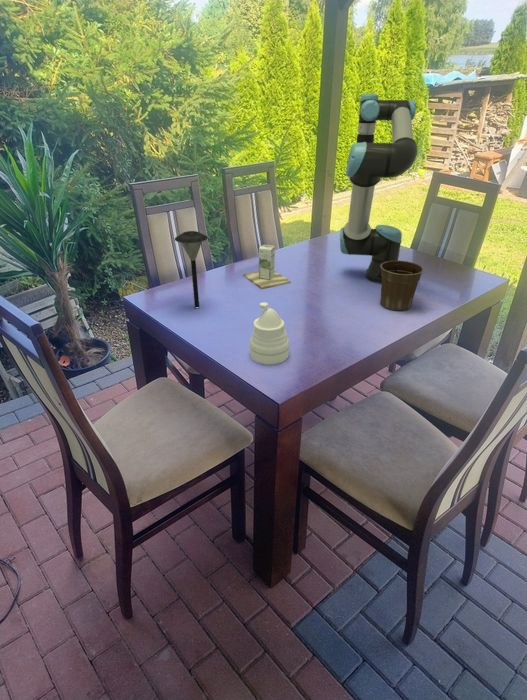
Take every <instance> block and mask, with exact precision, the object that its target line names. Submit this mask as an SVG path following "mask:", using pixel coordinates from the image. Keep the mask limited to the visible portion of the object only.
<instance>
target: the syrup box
mask: <svg viewBox="0 0 527 700" xmlns="http://www.w3.org/2000/svg"><path fill="white" fill-rule="evenodd" d="M275 249H276V247H275V245H271V244H262V245H260V246H259V248H258V271H259V278H260V279H267V280H271V279H272V278H273V277H274V271H275V258H276V257H275V254H276V253H275V252H276V251H275Z"/></svg>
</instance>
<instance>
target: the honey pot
mask: <svg viewBox="0 0 527 700" xmlns="http://www.w3.org/2000/svg"><path fill="white" fill-rule="evenodd" d="M259 306H260V309H261V310H262V313H261V314H260V316H259V317H258V318H255V320H254V321H253V323H252V325H253V327H254V328H253V330H252V334H251V337H250V339H249V355H250V358H251V359H252V360H253V362H256V363H258V364H262V365H269V366H270V365H271V366H272V365H278V364H280V363H283V362H285V361H286V360H287V359H288V357H289V356H290V355H289V353H290V352H289V351H290V340H289V338H288V337H289V336H288V334H287V331H286V329H285V321H284V320H283V319H281V317H280V316H279V314H278V312H277V311H276V310H275V309H273V308H271V307H270V308H269V303H268V302H264V301H263V302H260V303H259Z"/></svg>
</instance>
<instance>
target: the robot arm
mask: <svg viewBox="0 0 527 700" xmlns="http://www.w3.org/2000/svg"><path fill="white" fill-rule="evenodd" d="M416 110H417V103H416V100H412V99H411V100H410V99H379V95H378V94H377V93H363V94H361V96H360V102H359V113H358V124H357V125H358V127H357V133H358V134H356V142H354V143H353V144H352V145H351V146H350V150H349V154H348V156H347V160H346V167H345V168H346V170H345V175H346V176H347V177H348V182H350V183H351V184H352V185H351V186H352V187H351V194H350V203H349V212H348V220H347V222H346V223H345V225H344V226H343V227H341V228H340V231H339V246H340V247H339V248H340V252H341V253H342V254H343V255H349V256H352V255H353V256H370V257H371V260H370V263H369V265H368V267H367V269H366V271H365V278H366V279H367V280H368V281H370V282H373V283H377V284H382V276H381V267H380V266H381V264H382V263H383V262H387V261H394V260H398V261H399V258H400V250H401V244H402V237H403V232H402V231H401V230H400V229H399V228H398V227H395V226H391V225H387V224H378V225H376V226H375V228H371V225H370V224H369V223H370V217H371V210H372V204H373V200H374V199H373V198H374V192H375V186H376V185H378V184H379V183H380V181H381V178H382V179H383V178H384V179H385V178H386V179H387V178H388V179H389V178H390V179H392V178H396V177H398V176H401V175H402V174H404V173H406V172H407V171H409V169H410V168H411V167H412V165H414V163H415V161H416V158H417V156H418V145H417V142H416V140H415V139H414V133H413V123H412V121H413V120H414V119H415V116H416ZM377 121H391V135H392V136H391V137H392V142H374V140H375V132H376V124H377V123H376V122H377Z"/></svg>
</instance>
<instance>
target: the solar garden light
mask: <svg viewBox="0 0 527 700" xmlns="http://www.w3.org/2000/svg"><path fill="white" fill-rule="evenodd" d="M208 238H209V237H208V236H207V235H206V234H204V233H201V232H200V231H195V230H189V231H187V230H186V231H184V232H182V233H180V234H179V235H176V237H174V241H175V242H177V243H180V244H181V246H182V248H183V250H184V251H185V253H186V255H187V256H188V258H189V260H190V266H191V267H190V268H191V277H192V289H193V301H194V303H193V304H194V308H195V307H199V308H200V301H199V288H198V275H197V273H198V272H197V263H196V259H197V257H198V254H199V251H200V248H201V245H202V243H203V242H205V241H207V240H208Z"/></svg>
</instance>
